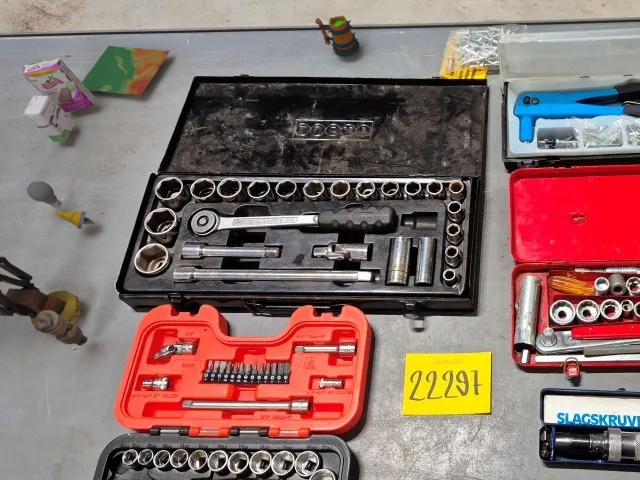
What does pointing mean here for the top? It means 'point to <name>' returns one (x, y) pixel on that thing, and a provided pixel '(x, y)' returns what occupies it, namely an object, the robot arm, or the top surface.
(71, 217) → the drill bit
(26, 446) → the top surface
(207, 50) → the top surface
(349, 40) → the mug
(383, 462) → the top surface
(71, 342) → the brown lumpy elongated piece
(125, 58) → the terrain model
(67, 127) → the ink box
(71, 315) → the yellow round disc
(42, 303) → the brown stepped block
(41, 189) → the light bulb
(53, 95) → the candy bar box
